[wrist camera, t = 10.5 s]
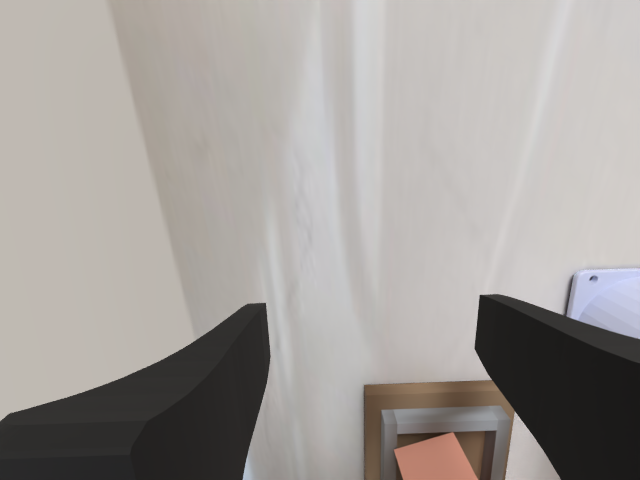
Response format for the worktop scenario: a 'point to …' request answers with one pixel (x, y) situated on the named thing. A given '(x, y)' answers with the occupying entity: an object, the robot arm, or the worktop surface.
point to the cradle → (437, 424)
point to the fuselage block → (434, 460)
